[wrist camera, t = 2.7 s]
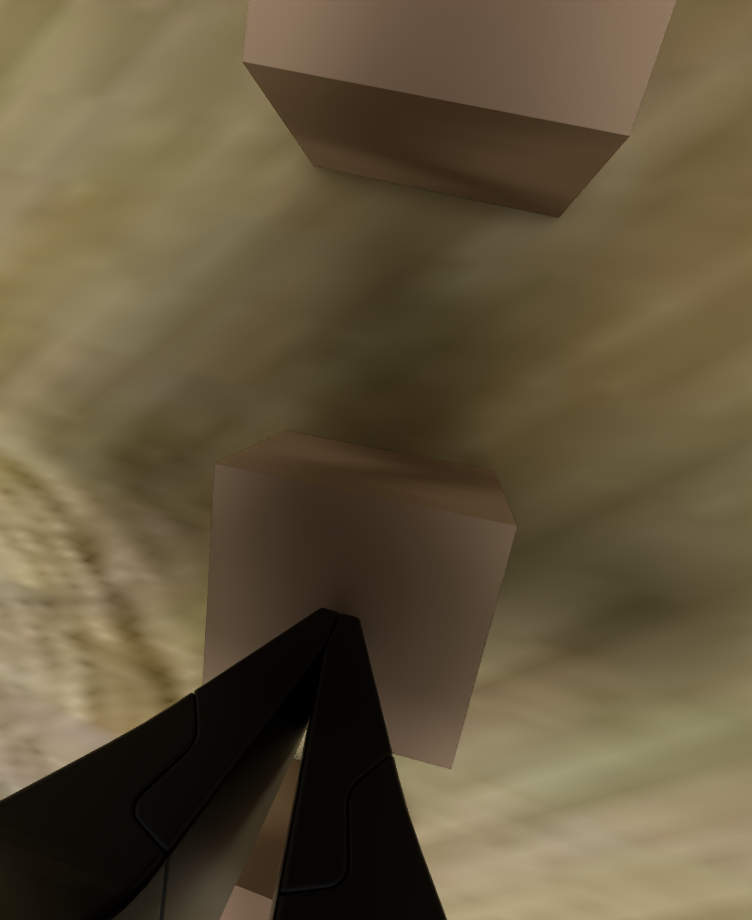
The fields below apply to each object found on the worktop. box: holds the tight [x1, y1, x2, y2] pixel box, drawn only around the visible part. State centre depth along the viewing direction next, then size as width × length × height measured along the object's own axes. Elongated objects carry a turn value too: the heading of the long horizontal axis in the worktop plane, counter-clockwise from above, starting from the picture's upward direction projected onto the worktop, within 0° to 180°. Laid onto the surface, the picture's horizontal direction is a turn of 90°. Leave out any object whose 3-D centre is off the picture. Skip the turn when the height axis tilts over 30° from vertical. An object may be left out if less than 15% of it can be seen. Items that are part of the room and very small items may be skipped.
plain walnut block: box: [203, 430, 517, 769], centre depth 11 cm, size 6×6×4 cm
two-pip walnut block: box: [220, 759, 300, 920], centre depth 14 cm, size 6×6×4 cm
